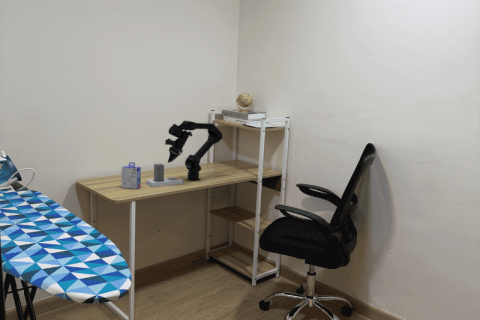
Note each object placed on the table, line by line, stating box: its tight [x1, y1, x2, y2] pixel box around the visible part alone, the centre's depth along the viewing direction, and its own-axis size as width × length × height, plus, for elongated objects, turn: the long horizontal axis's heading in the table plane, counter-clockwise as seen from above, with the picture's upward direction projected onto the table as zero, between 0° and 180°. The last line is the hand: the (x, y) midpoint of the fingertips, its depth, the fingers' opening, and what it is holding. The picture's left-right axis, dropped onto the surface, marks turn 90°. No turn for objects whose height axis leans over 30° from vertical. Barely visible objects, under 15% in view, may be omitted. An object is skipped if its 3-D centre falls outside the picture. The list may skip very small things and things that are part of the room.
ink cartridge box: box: [121, 161, 142, 190], centre depth 239 cm, size 10×6×14 cm, turn 78°
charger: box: [153, 163, 165, 182], centre depth 248 cm, size 4×4×12 cm
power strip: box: [146, 176, 184, 188], centre depth 252 cm, size 20×9×3 cm, turn 124°
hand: (169, 162), depth 255 cm, fingers open, 9 cm apart
